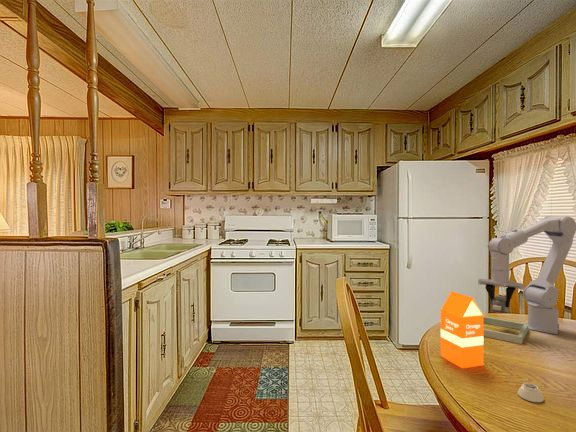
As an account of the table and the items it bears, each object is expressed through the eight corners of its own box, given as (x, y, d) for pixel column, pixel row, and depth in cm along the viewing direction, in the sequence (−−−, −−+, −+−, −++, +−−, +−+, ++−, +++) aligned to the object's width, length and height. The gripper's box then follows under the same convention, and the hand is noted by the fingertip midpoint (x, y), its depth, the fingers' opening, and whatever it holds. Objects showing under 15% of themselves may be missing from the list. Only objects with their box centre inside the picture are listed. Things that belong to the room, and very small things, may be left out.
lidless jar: (549, 403, 78) (532, 392, 83) (549, 391, 78) (532, 380, 83) (528, 404, 78) (513, 392, 83) (528, 391, 78) (513, 380, 83)
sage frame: (528, 330, 126) (528, 324, 126) (521, 344, 113) (521, 337, 113) (475, 320, 138) (475, 314, 138) (463, 332, 125) (463, 325, 125)
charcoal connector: (508, 307, 129) (508, 297, 129) (503, 314, 120) (503, 303, 120) (496, 305, 132) (496, 295, 132) (490, 312, 122) (490, 301, 122)
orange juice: (462, 368, 95) (462, 298, 95) (440, 355, 104) (440, 291, 104) (484, 365, 97) (484, 296, 97) (460, 353, 106) (461, 290, 106)
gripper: (476, 269, 128) (476, 304, 128) (522, 273, 119) (522, 311, 119) (480, 266, 134) (480, 300, 134) (524, 270, 124) (524, 307, 124)
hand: (500, 305), depth 126 cm, fingers closed on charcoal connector, 4 cm apart
